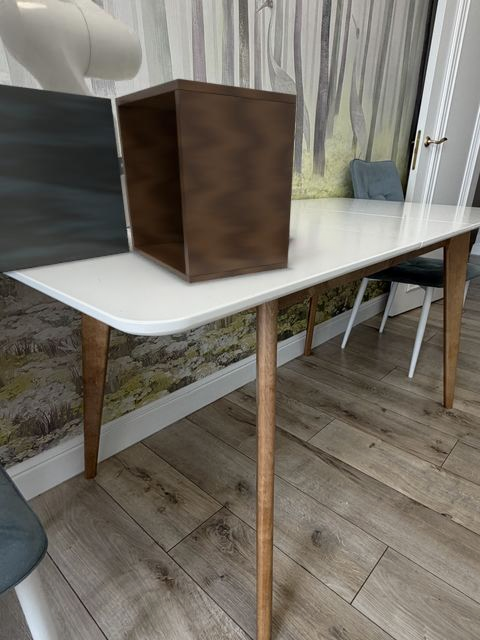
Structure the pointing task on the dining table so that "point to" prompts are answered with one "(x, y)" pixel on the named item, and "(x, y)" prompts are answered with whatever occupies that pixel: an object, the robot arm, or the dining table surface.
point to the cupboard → (208, 177)
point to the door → (58, 179)
